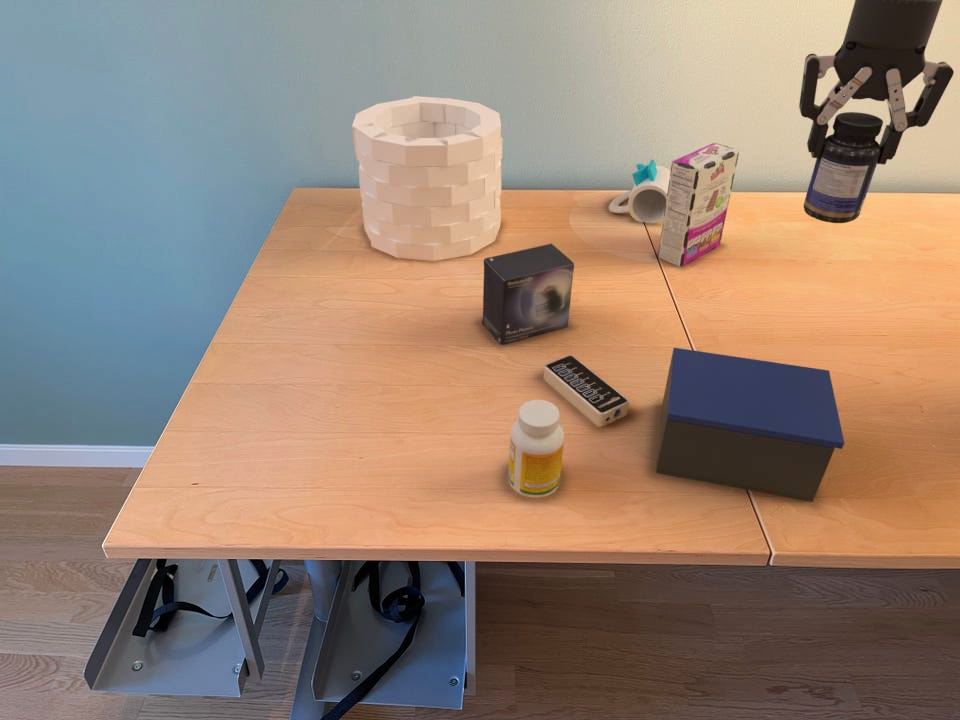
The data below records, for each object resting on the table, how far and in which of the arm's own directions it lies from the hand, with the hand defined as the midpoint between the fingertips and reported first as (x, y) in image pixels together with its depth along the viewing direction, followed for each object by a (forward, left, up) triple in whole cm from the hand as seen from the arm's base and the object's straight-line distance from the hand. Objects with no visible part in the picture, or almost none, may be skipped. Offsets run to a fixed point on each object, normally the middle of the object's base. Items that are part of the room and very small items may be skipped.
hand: (847, 158), depth 77 cm
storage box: (+8, +23, -26) cm, 35 cm away
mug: (+23, -38, -26) cm, 51 cm away
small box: (+35, +5, -26) cm, 43 cm away
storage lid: (+7, +23, -18) cm, 30 cm away
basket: (+57, -21, -26) cm, 66 cm away
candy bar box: (+14, -23, -26) cm, 37 cm away
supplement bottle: (+28, +33, -26) cm, 50 cm away
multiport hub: (+25, +18, -26) cm, 40 cm away
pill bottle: (0, 0, -7) cm, 7 cm away
